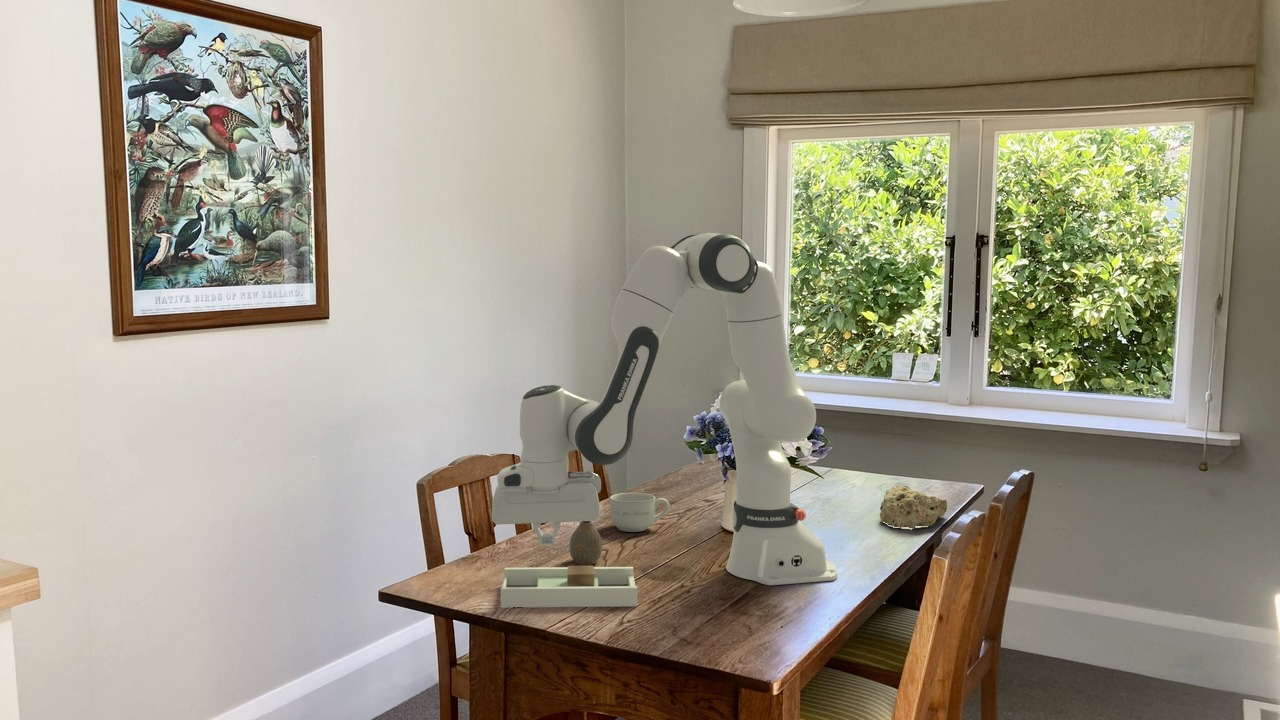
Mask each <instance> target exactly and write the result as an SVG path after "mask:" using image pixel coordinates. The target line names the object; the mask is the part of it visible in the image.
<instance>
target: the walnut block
mask: <svg viewBox="0 0 1280 720" xmlns="http://www.w3.org/2000/svg"><path fill="white" fill-rule="evenodd" d="M567 567H568V573H567V587H591V586H594V567H595V566H594V565H567Z"/></svg>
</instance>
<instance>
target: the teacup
mask: <svg viewBox="0 0 1280 720" xmlns="http://www.w3.org/2000/svg"><path fill="white" fill-rule="evenodd" d="M609 500H610V501H609V502H610V504H609V505H610V506H609V507H610V512H609V513H610V520H611V524H613V526H614V527H617V529H618V530H619V531H621V532H629V533H630V532H631V533H638V532H643V531H646V530H647V529H648V528H649V527H651V526H652V525H653V524H654V523H656V522H657V521H658V520H659V519H661V518H662V517H664V516H666V515H667V514H668V512H669V510H670V507H671V506H670V503H669V500H667V499H666V498H664V497H659V498H656V496H655V495H653V494H650V493H644V492H643V493H642V492H623V493H615V494H613V495H611V496H609ZM661 503H663V504H664V506H665V507H664V509H663V511H662V512H660V513H658V514H656V509H657V508H658V505H659V504H661Z"/></svg>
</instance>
